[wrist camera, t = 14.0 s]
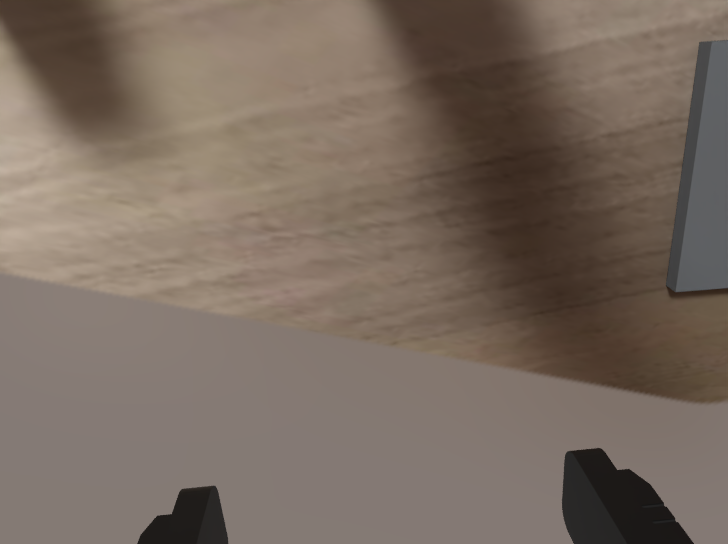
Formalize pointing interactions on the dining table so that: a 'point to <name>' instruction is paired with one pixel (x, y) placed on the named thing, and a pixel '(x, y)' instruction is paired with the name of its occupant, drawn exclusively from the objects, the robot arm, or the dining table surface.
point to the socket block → (704, 181)
